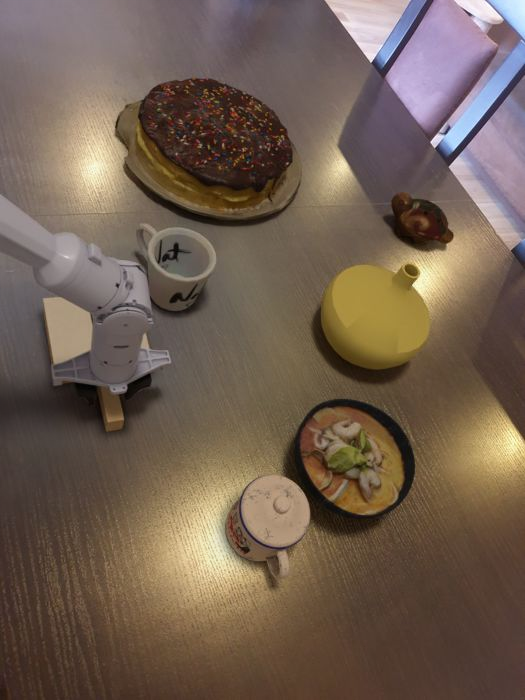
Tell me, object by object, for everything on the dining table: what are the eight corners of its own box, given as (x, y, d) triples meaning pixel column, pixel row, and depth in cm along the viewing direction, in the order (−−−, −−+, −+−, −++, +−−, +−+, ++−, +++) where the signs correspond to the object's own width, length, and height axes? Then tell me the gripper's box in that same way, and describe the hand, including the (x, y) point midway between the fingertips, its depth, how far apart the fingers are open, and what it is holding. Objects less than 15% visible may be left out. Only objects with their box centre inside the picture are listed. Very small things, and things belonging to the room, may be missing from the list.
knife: (122, 429, 78) (124, 419, 75) (106, 431, 77) (107, 422, 74) (98, 318, 86) (99, 306, 83) (83, 319, 85) (83, 307, 82)
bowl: (402, 519, 83) (439, 499, 75) (298, 546, 76) (326, 526, 68) (361, 414, 91) (391, 385, 83) (263, 430, 84) (285, 400, 76)
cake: (267, 103, 128) (279, 61, 120) (325, 222, 112) (344, 183, 103) (101, 96, 114) (103, 48, 106) (140, 231, 97) (145, 187, 89)
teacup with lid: (216, 501, 76) (238, 472, 67) (277, 490, 80) (306, 460, 70) (237, 594, 71) (264, 577, 61) (302, 578, 74) (337, 559, 65)
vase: (392, 403, 94) (458, 342, 78) (293, 355, 93) (340, 284, 77) (412, 324, 104) (473, 257, 89) (323, 280, 104) (369, 205, 88)
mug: (170, 330, 88) (181, 292, 80) (107, 267, 91) (112, 224, 83) (216, 299, 94) (231, 260, 86) (156, 241, 97) (165, 198, 89)
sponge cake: (55, 384, 78) (54, 368, 75) (43, 316, 83) (42, 298, 80) (147, 371, 84) (151, 356, 80) (131, 308, 88) (134, 290, 85)
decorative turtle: (378, 205, 120) (399, 176, 114) (440, 233, 123) (463, 207, 116) (376, 235, 114) (398, 206, 108) (441, 264, 117) (465, 237, 110)
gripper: (56, 383, 62) (57, 432, 73) (183, 366, 68) (166, 413, 79) (47, 330, 66) (49, 384, 76) (169, 317, 71) (155, 370, 82)
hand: (108, 396), depth 78 cm, fingers open, 4 cm apart
